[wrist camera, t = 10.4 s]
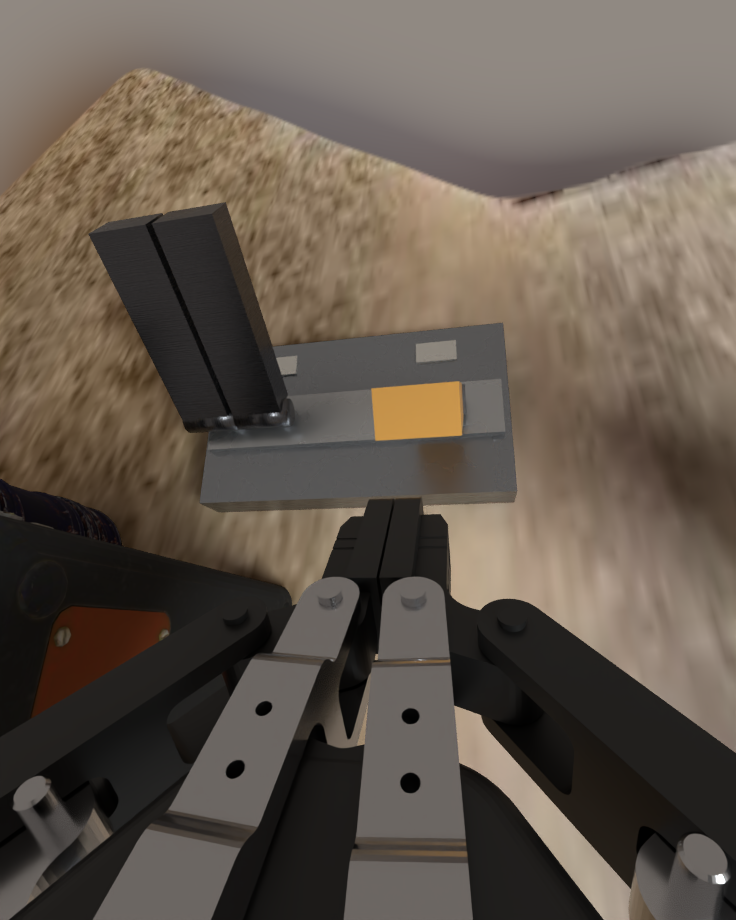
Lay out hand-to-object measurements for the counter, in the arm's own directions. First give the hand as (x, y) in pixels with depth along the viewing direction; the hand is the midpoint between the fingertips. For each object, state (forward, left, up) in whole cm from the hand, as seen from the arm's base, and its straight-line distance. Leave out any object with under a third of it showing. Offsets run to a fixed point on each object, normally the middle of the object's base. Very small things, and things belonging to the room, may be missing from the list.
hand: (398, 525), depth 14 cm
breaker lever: (0, -12, -17) cm, 21 cm away
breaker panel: (+6, -13, -22) cm, 26 cm away
